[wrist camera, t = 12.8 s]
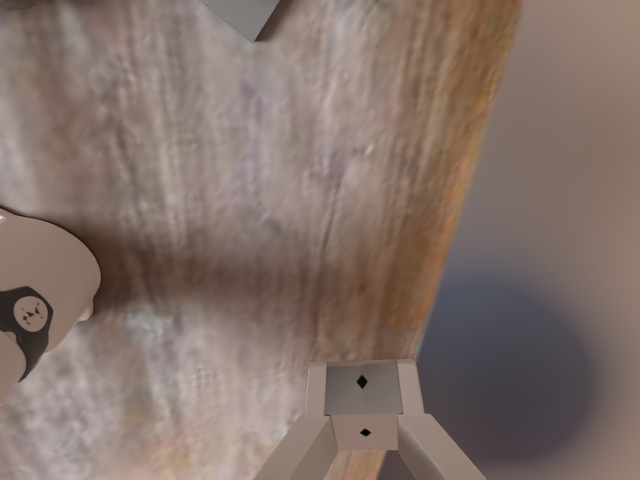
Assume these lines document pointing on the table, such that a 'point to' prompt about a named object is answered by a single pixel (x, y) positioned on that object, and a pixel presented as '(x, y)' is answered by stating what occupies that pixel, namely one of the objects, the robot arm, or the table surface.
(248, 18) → the slate plate
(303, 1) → the table surface
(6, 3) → the pipe fitting
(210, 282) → the table surface
